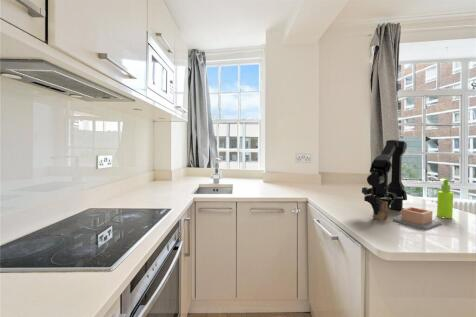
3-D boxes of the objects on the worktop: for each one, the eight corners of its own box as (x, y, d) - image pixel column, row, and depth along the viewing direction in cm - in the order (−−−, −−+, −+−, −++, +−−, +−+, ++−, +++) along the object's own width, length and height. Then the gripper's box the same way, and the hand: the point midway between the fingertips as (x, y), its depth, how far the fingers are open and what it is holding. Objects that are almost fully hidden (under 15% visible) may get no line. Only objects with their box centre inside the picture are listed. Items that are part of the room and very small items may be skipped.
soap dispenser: (433, 216, 118) (434, 178, 117) (440, 214, 121) (442, 177, 119) (447, 219, 113) (448, 180, 111) (454, 217, 115) (456, 179, 114)
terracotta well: (407, 216, 119) (408, 204, 119) (441, 224, 107) (441, 211, 106) (392, 220, 112) (393, 208, 112) (426, 229, 100) (427, 216, 100)
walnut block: (378, 216, 119) (378, 199, 118) (387, 219, 115) (387, 201, 114) (373, 218, 117) (373, 201, 116) (382, 220, 113) (382, 202, 112)
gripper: (375, 179, 126) (375, 207, 127) (354, 183, 117) (354, 212, 118) (397, 182, 116) (396, 212, 117) (376, 186, 108) (375, 218, 109)
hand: (380, 213), depth 116 cm, fingers open, 7 cm apart
